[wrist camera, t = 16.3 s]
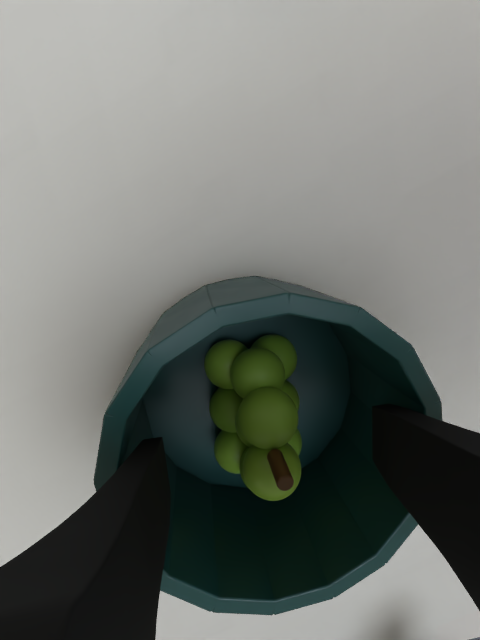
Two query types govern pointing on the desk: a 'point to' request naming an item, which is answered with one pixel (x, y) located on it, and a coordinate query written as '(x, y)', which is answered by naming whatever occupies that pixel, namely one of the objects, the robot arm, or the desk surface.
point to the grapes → (256, 413)
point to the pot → (315, 456)
